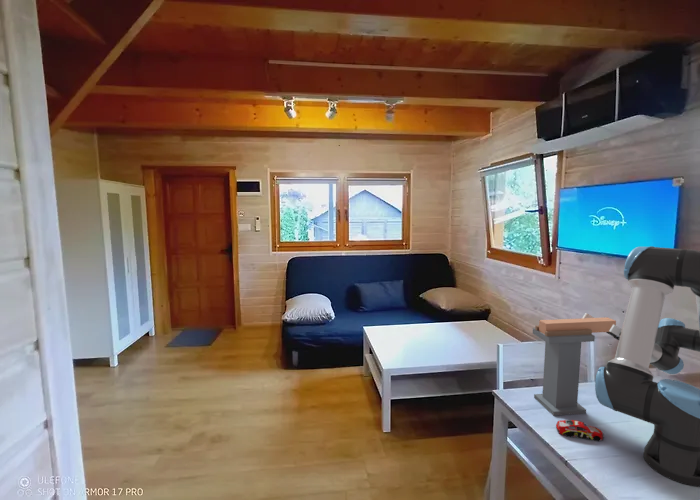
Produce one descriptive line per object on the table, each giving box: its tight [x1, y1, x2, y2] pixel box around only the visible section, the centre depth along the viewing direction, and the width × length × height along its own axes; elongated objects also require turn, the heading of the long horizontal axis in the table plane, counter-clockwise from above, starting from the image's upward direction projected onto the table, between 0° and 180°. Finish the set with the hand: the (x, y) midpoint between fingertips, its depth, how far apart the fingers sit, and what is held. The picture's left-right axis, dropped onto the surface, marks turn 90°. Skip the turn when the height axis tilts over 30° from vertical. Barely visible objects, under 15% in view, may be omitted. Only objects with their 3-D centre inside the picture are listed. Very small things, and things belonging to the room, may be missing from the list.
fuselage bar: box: [538, 316, 617, 334], centre depth 135 cm, size 26×4×4 cm, turn 95°
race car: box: [555, 419, 605, 442], centre depth 122 cm, size 13×5×4 cm, turn 71°
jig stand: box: [532, 324, 596, 417], centre depth 137 cm, size 16×12×30 cm
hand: (597, 321), depth 136 cm, fingers open, 13 cm apart
